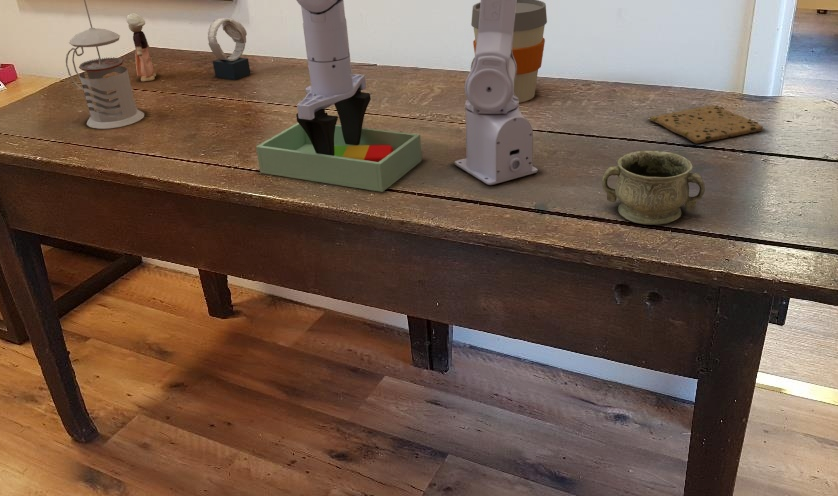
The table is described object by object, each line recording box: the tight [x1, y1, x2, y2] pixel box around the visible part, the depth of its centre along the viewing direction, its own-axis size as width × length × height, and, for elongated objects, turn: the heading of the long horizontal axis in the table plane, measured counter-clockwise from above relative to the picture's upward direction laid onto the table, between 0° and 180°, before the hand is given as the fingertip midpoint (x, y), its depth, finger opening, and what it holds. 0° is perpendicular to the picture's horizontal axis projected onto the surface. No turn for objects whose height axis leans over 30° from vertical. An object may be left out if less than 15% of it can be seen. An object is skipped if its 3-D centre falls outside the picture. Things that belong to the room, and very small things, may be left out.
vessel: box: [601, 150, 706, 226], centre depth 96 cm, size 12×9×6 cm
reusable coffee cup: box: [470, 0, 548, 103], centre depth 135 cm, size 13×13×15 cm
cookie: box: [649, 104, 764, 144], centre depth 121 cm, size 12×12×1 cm
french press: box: [65, 0, 145, 129], centre depth 134 cm, size 10×12×25 cm
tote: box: [255, 122, 423, 193], centre depth 114 cm, size 20×12×4 cm, turn 63°
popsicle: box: [334, 145, 394, 162], centre depth 114 cm, size 6×15×2 cm, turn 85°
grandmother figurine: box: [126, 13, 157, 82], centre depth 158 cm, size 8×4×13 cm, turn 17°
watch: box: [207, 17, 252, 81], centre depth 157 cm, size 6×8×11 cm
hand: (339, 152), depth 114 cm, fingers closed on popsicle, 6 cm apart
